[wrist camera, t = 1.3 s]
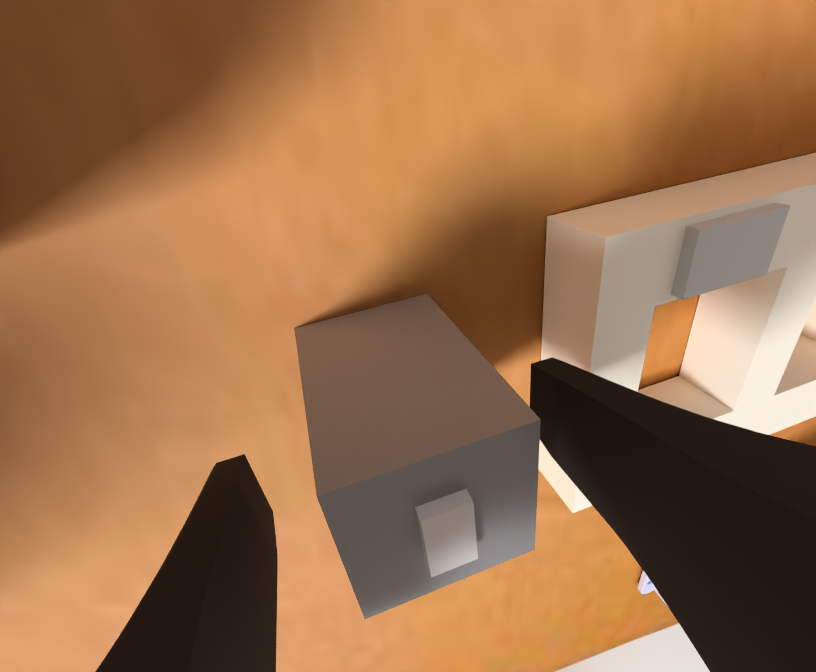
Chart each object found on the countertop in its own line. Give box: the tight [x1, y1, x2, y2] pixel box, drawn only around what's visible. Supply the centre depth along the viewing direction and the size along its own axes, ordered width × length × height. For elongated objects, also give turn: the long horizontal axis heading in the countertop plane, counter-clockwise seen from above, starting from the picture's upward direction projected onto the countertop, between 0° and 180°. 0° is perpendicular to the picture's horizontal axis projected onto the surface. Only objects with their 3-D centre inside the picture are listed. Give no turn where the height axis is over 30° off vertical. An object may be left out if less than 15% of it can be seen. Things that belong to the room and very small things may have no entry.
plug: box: [295, 294, 541, 619], centre depth 10 cm, size 4×4×6 cm
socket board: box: [538, 153, 816, 513], centre depth 15 cm, size 11×16×3 cm
